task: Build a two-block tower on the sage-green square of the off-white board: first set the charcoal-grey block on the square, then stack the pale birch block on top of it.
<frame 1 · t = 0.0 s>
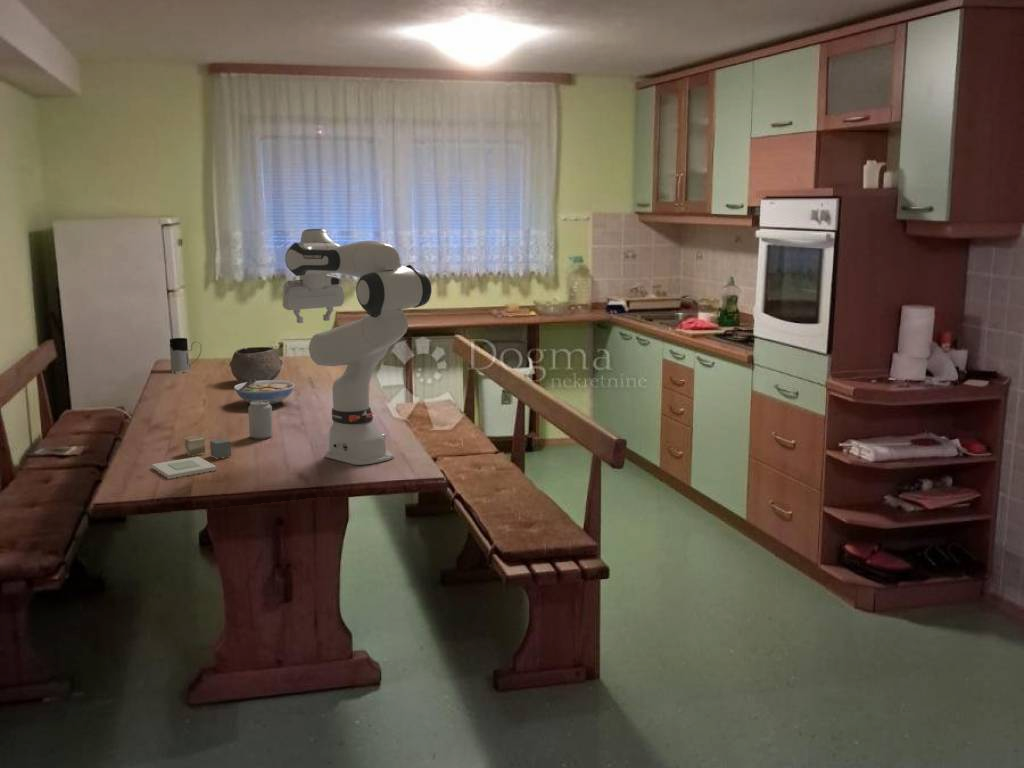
hand: (313, 321, 308), 39 cm above the table, tool pointing down, fingers open, 8 cm apart
clay pot: (257, 384, 407), on the table
build board: (184, 469, 279), on the table
ramen bowl: (265, 404, 367), on the table
grey block: (221, 456, 293), on the table
can: (261, 437, 317), on the table
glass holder: (186, 371, 435), on the table
birch block: (195, 454, 296), on the table
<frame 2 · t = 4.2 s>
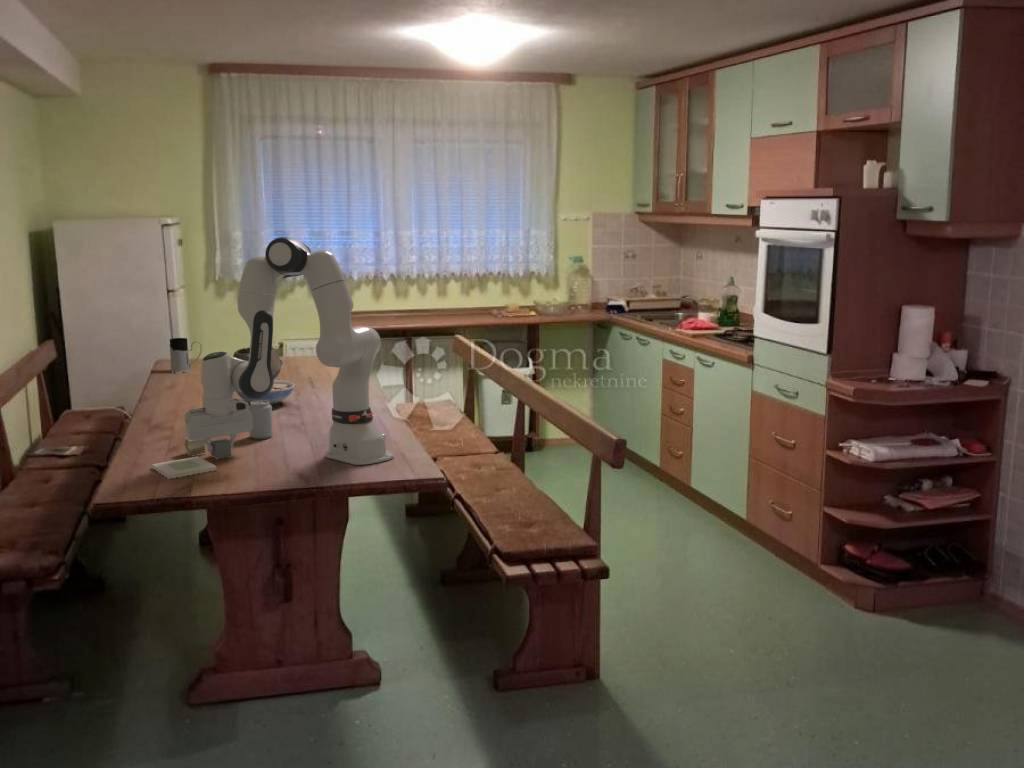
hand: (220, 449, 292), 2 cm above the table, tool pointing down, fingers closed on grey block, 5 cm apart
grey block: (221, 456, 293), on the table, touching gripper
everything else where it was.
when the fingers open (4 cm above the table, at t = 10.7 s): grey block stays where it is, resting on build board.
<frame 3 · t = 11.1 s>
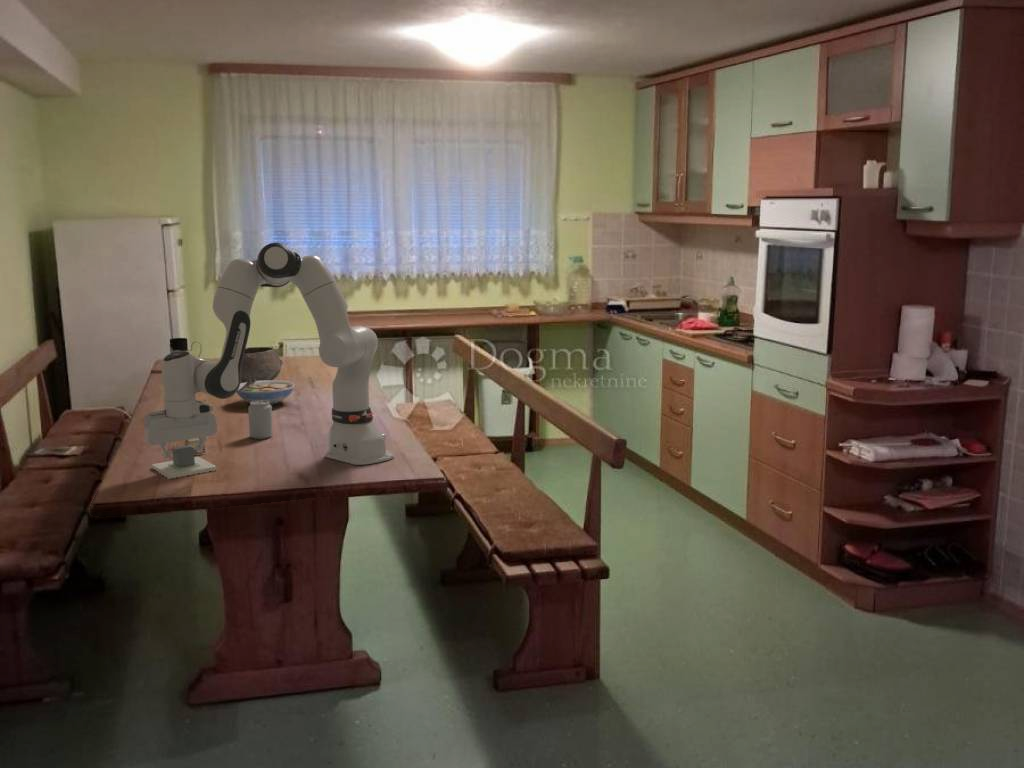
hand: (183, 454, 278), 4 cm above the table, tool pointing down, fingers open, 8 cm apart
grey block: (184, 464, 279), point 1 cm above the table, touching build board
everything else where it was.
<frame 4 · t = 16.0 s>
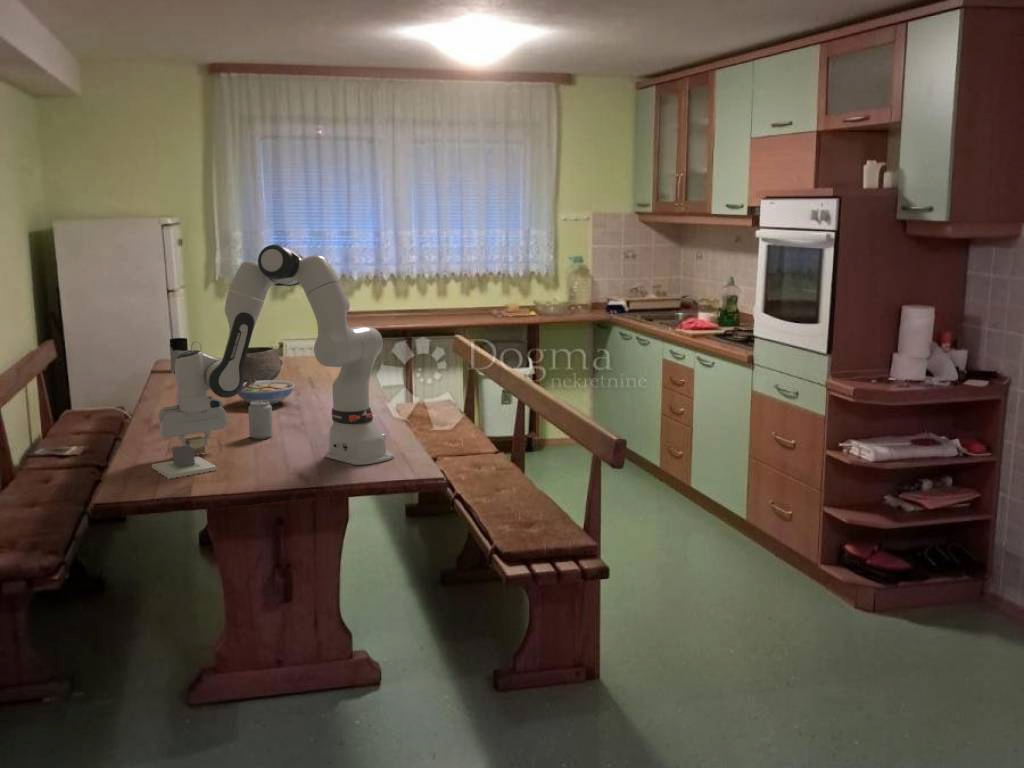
hand: (194, 447, 295), 2 cm above the table, tool pointing down, fingers closed on birch block, 5 cm apart
birch block: (195, 453, 296), on the table, touching gripper
everything else where it was.
when the fingers open (9 cm above the table, at t = 23.1 s): birch block stays where it is, resting on grey block.
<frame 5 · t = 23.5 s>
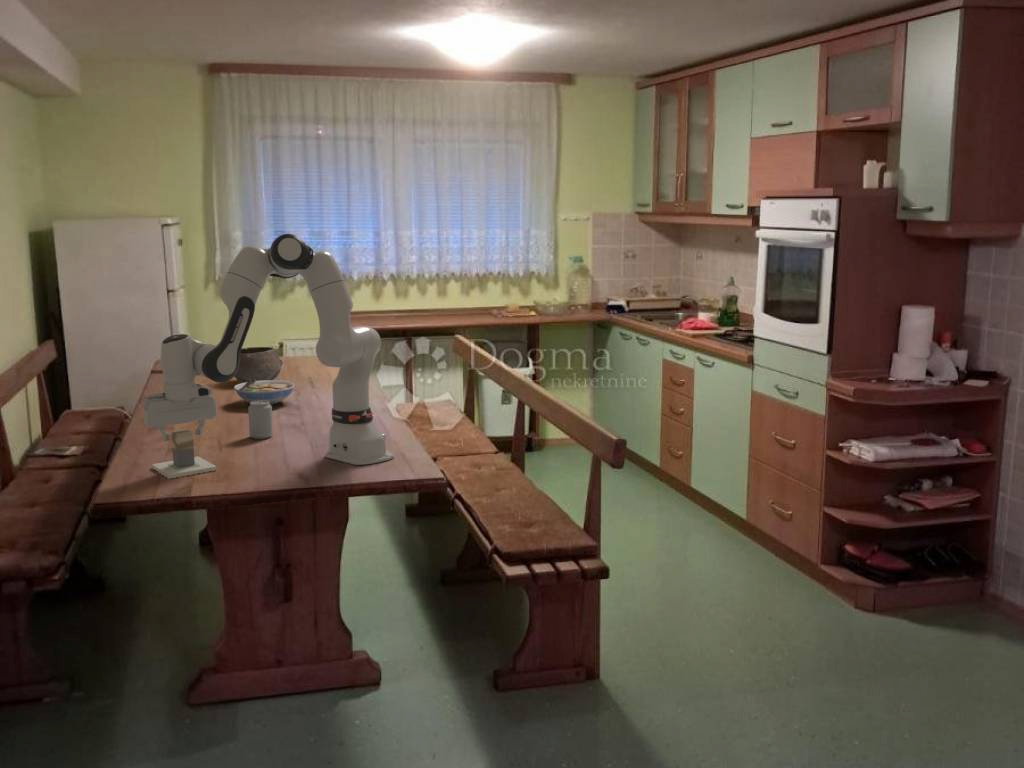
hand: (182, 437, 277), 9 cm above the table, tool pointing down, fingers open, 8 cm apart
grey block: (184, 464, 279), point 1 cm above the table, touching birch block, build board
birch block: (183, 448, 278), point 6 cm above the table, touching grey block
everything else where it was.
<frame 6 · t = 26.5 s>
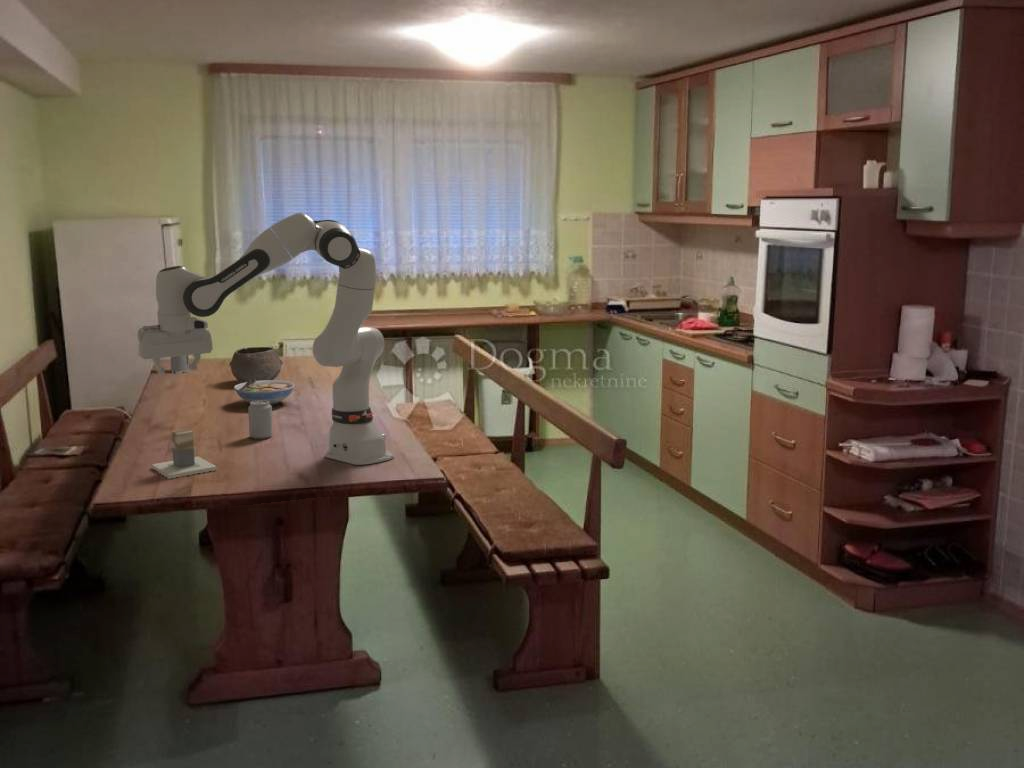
hand: (177, 371, 273), 29 cm above the table, tool pointing down, fingers open, 8 cm apart
nothing on the table moved.
at the end: grey block 0.1 cm off-centre on the build board, point 1.4 cm above the build board's base; birch block 0.0 cm off-centre on the grey block, point 5.0 cm above the grey block's base; birch block tilted 0° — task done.
